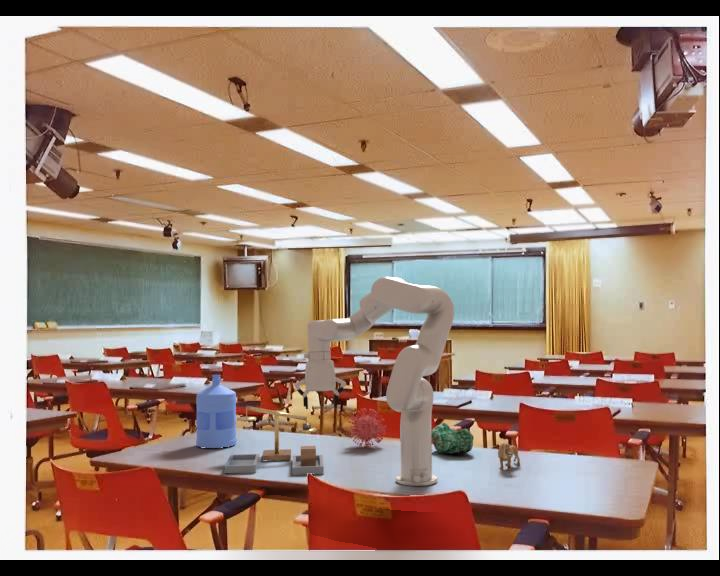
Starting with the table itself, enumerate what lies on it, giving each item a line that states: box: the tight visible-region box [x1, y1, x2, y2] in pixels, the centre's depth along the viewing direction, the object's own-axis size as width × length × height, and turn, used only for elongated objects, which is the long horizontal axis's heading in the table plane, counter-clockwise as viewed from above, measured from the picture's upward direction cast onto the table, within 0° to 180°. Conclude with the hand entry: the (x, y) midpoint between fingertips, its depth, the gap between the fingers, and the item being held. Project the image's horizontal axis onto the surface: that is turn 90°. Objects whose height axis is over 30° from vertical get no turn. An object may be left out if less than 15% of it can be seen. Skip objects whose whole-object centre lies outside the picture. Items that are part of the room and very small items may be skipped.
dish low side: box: [291, 454, 325, 476], centre depth 222 cm, size 18×10×2 cm, turn 5°
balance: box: [236, 405, 317, 461], centre depth 239 cm, size 10×28×19 cm, turn 95°
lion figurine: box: [497, 442, 521, 471], centre depth 220 cm, size 15×5×9 cm, turn 155°
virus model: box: [347, 407, 387, 448], centre depth 257 cm, size 15×15×15 cm
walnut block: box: [300, 445, 317, 466], centre depth 222 cm, size 5×5×6 cm
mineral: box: [431, 422, 474, 455], centre depth 244 cm, size 18×16×10 cm
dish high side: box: [224, 453, 260, 474], centre depth 225 cm, size 18×10×2 cm, turn 5°
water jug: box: [195, 374, 237, 448], centre depth 264 cm, size 16×16×28 cm
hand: (321, 408), depth 222 cm, fingers open, 9 cm apart
